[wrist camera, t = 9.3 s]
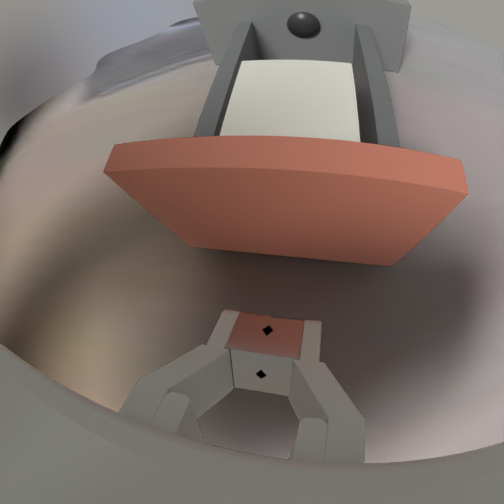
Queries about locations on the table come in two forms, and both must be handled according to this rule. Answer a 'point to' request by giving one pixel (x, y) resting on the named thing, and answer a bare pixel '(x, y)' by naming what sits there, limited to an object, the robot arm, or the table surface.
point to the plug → (291, 174)
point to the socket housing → (308, 49)
